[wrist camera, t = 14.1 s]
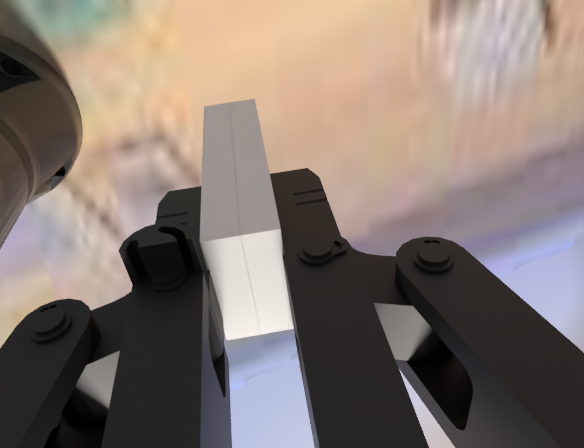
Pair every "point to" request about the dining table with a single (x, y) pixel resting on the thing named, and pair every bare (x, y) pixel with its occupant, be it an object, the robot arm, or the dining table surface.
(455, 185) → the dining table surface
